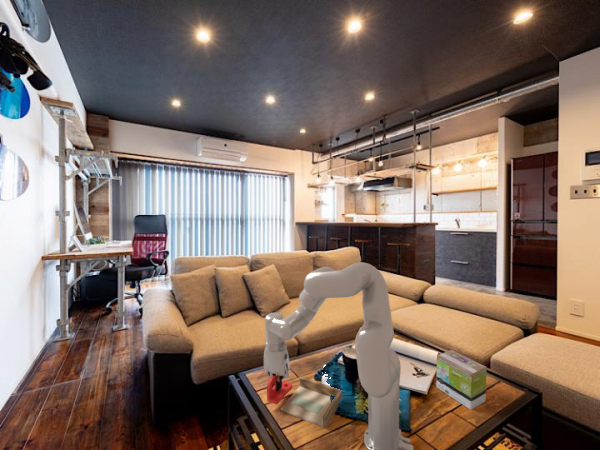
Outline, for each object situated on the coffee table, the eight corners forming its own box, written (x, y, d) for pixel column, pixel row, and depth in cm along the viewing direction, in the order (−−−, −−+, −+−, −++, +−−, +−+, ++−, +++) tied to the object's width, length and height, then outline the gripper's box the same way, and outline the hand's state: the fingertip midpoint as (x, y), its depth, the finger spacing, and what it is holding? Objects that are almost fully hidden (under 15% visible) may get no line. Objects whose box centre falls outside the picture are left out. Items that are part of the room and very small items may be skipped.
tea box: (435, 388, 117) (435, 354, 116) (450, 380, 122) (451, 348, 121) (471, 411, 104) (472, 373, 103) (486, 402, 109) (487, 365, 108)
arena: (342, 400, 111) (342, 390, 111) (326, 428, 97) (325, 417, 97) (301, 386, 121) (300, 376, 120) (280, 410, 107) (280, 399, 106)
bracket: (276, 404, 106) (276, 384, 105) (267, 401, 108) (266, 381, 107) (293, 386, 116) (292, 368, 115) (284, 383, 118) (283, 365, 118)
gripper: (296, 344, 111) (298, 388, 112) (265, 336, 119) (267, 378, 120) (286, 353, 104) (288, 400, 106) (254, 344, 112) (256, 388, 113)
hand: (277, 388), depth 113 cm, fingers closed on bracket, 1 cm apart
